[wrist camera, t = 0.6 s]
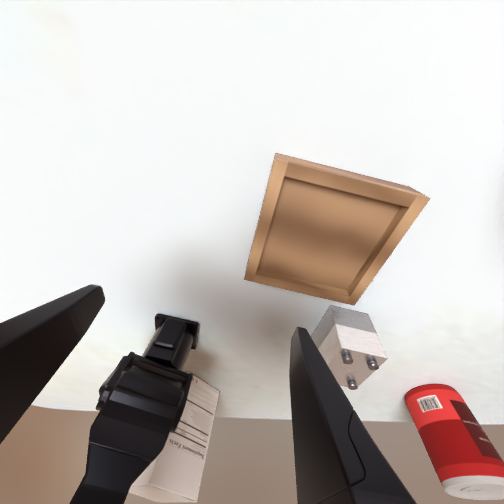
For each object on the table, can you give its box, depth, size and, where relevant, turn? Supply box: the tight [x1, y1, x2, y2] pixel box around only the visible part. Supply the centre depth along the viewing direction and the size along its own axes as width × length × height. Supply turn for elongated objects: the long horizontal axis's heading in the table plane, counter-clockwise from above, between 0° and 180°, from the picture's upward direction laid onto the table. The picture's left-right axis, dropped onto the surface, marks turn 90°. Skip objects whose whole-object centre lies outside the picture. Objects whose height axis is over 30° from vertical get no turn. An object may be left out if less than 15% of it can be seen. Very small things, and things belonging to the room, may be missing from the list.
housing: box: [311, 305, 388, 390], centre depth 26 cm, size 7×5×7 cm
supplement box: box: [129, 372, 220, 503], centre depth 37 cm, size 9×9×15 cm
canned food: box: [405, 384, 504, 500], centre depth 31 cm, size 8×8×11 cm
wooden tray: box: [244, 153, 430, 305], centre depth 20 cm, size 12×12×3 cm
